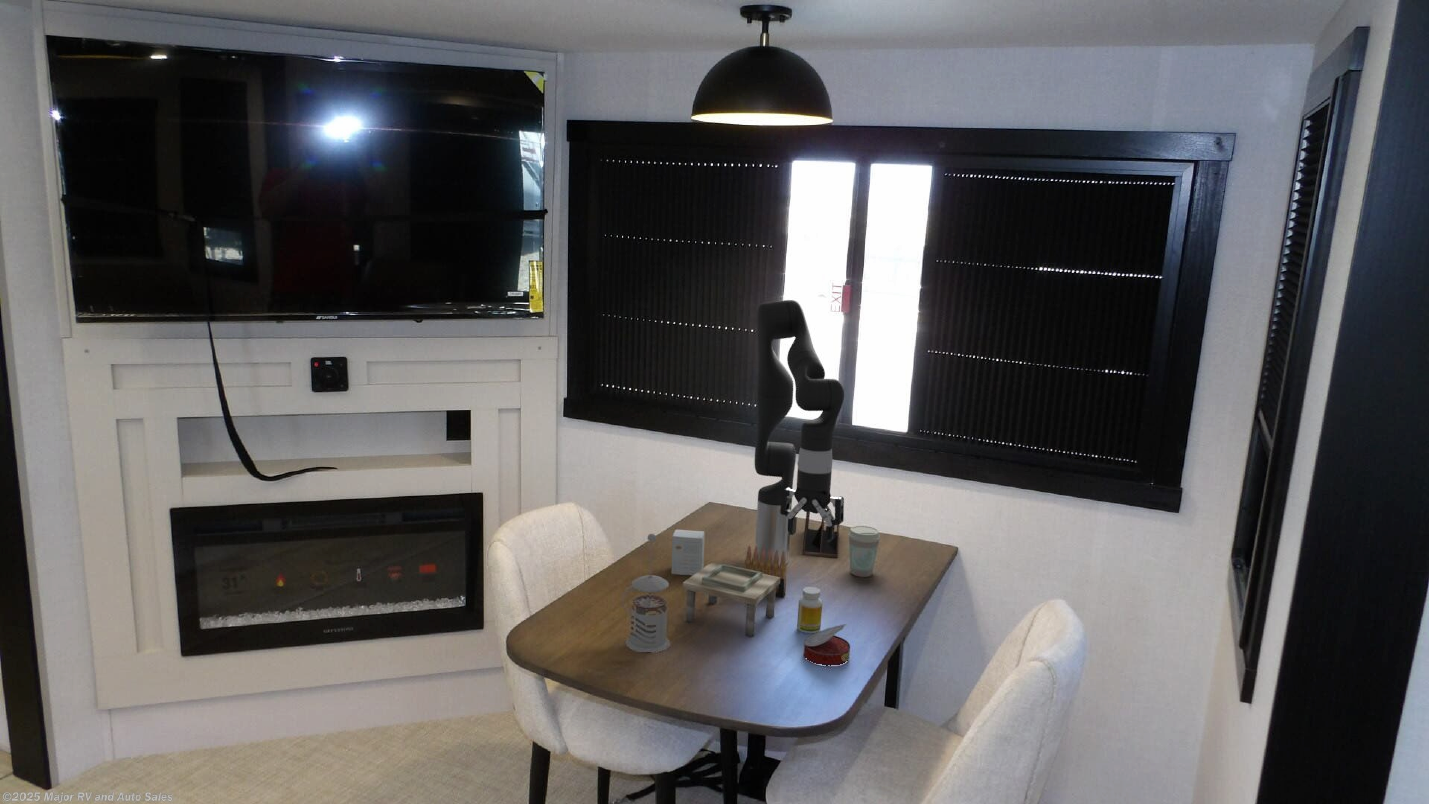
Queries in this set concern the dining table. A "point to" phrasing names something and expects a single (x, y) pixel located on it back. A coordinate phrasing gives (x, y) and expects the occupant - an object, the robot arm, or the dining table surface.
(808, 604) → the supplement bottle
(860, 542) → the coffee cup
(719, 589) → the miniature tray table
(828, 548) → the letter holder
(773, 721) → the dining table surface
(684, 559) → the small box
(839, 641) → the canned food
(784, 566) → the ammunition clip
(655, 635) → the french press
